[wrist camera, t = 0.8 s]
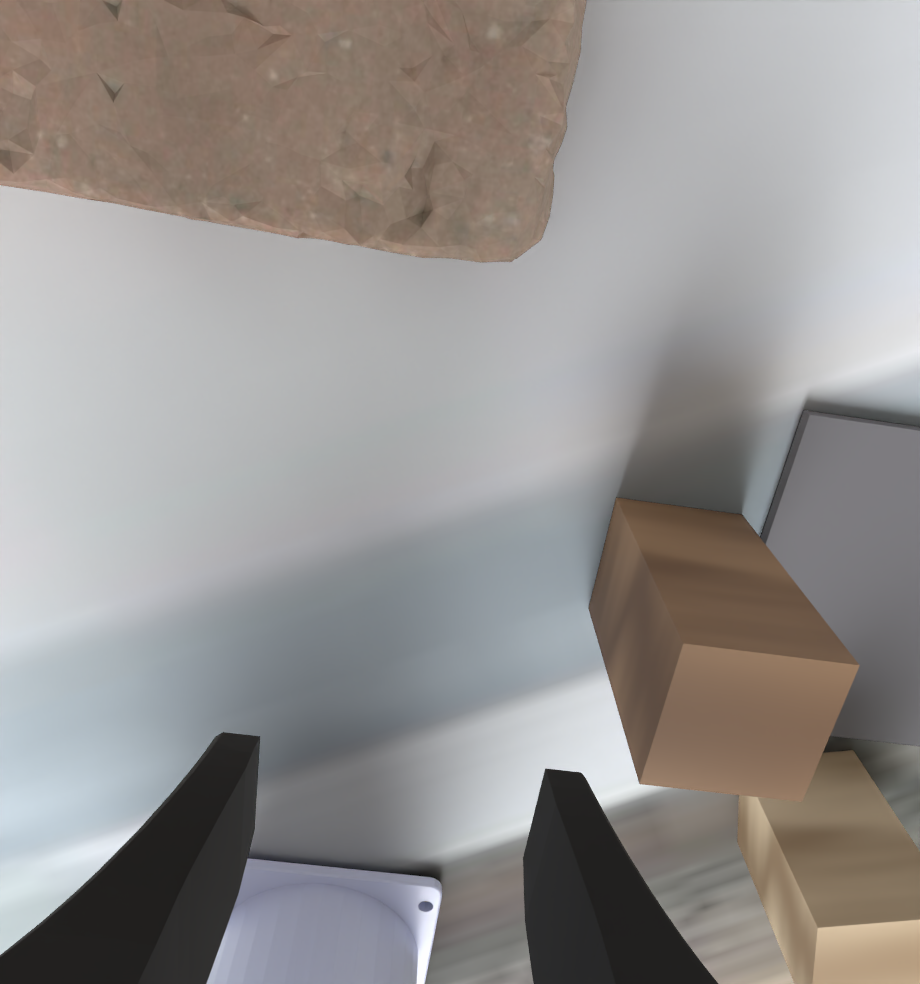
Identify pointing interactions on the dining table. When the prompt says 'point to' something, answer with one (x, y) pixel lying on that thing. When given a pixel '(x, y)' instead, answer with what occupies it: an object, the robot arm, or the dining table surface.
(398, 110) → the brick
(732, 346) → the dining table surface
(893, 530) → the mat
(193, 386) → the dining table surface
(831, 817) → the oak block
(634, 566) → the walnut block
